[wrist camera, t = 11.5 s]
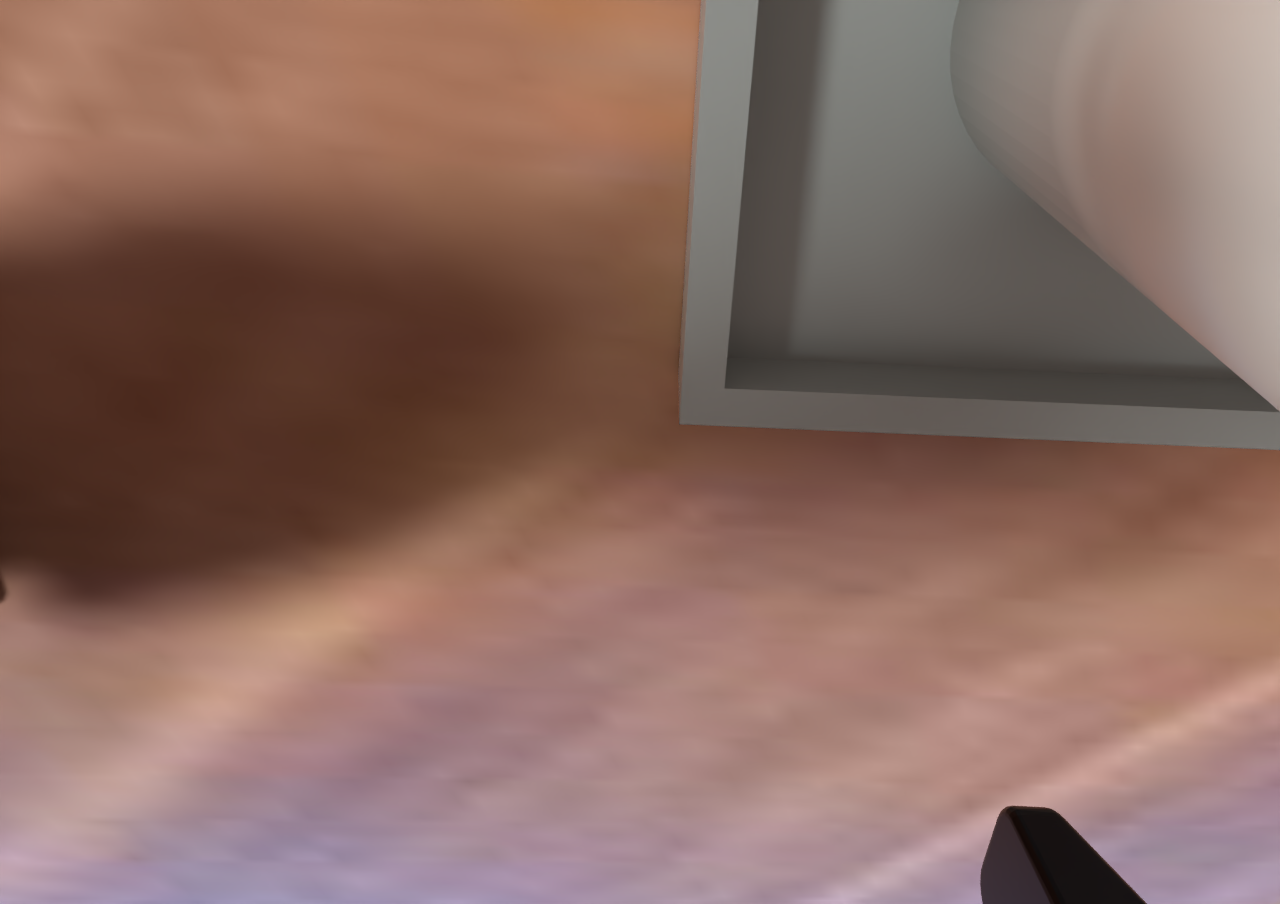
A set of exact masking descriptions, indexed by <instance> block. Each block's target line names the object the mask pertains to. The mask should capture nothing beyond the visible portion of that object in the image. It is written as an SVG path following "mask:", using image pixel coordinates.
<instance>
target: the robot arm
mask: <svg viewBox="0 0 1280 904" xmlns="http://www.w3.org/2000/svg"><path fill="white" fill-rule="evenodd" d="M980 885H981V896H982V902H983V904H1147V903H1146V902H1145V901H1144V900H1143V899H1142V898H1141V897H1140V896H1139V895H1138V894H1137V893H1136V892H1135V891H1134V890H1133V889H1132V888H1131V887H1130V886H1129V885H1128V884H1127V883H1126V882H1125V881H1124V880H1123V879H1122V878H1121V877H1120V876H1119V875H1118V873H1117V872H1116V871H1115V870H1114V869H1113V868H1112V867H1111V866H1110V865H1109V864H1108V863H1107V862H1106V861H1105V860H1104V859H1103V858H1102V857H1101V856H1100V855H1099V854H1098V853H1097V852H1096V851H1095V850H1094V849H1093V848H1092V847H1091V846H1090V845H1089V844H1088V843H1087V841H1086V840H1085V839H1084V838H1083V837H1082V836H1081V835H1080V834H1079V833H1078V832H1077V831H1076V830H1075V829H1074V828H1073V827H1072V826H1071V825H1070V824H1069V823H1068V822H1067V821H1066V820H1065V819H1064V818H1063V817H1062V816H1061V815H1060V814H1059V813H1057V812H1056V811H1054V810H1052V809H1050V808H1045V807H1027V806H1008V807H1006V808H1004V809H1003V810H1002V811H1001V812H1000V814H999V816H998V819H997V822H996V825H995V828H994V831H993V834H992V837H991V840H990V843H989V846H988V849H987V852H986V855H985V859H984V862H983V865H982V869H981V882H980Z"/></svg>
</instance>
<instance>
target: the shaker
mask: <svg viewBox="0 0 1280 904" xmlns="http://www.w3.org/2000/svg"><path fill="white" fill-rule="evenodd" d="M950 73H951V80H952V87H953V94H954V98H955V101H956V105H957V108H958V112H959V115H960V117H961V120H962V122H963V124H964V126H965V129H966V131H967V133H968V134H969V136H970V138H971V139H972V141H973V142H974V144H975V145H976V147H977V149H978V150H979V151H980V152H981V153H982V154H983V156H984V157H985V158H986V159H987V160H988V161H989V162H990V163H991V164H992V165H993V166H994V167H995V168H996V169H998V170H999V171H1000V172H1001V173H1002V174H1003V175H1005V176H1006V177H1007V178H1008V179H1009V180H1010V181H1012V182H1013V183H1014V184H1015V185H1016V186H1017V187H1019V188H1020V189H1021V190H1022V191H1023V192H1024V193H1026V194H1027V195H1028V196H1029V197H1030V198H1031V199H1033V200H1034V201H1035V202H1036V203H1037V204H1038V205H1039V206H1041V207H1042V208H1043V209H1044V210H1045V211H1046V212H1048V213H1049V214H1050V215H1051V216H1052V217H1053V218H1055V219H1056V220H1057V221H1058V222H1059V223H1060V224H1062V225H1063V226H1064V227H1065V228H1066V229H1067V230H1069V231H1070V232H1071V233H1072V234H1073V235H1074V236H1076V237H1077V238H1078V239H1079V240H1080V241H1081V242H1083V243H1084V244H1085V245H1086V246H1087V247H1088V248H1090V249H1091V250H1092V251H1093V252H1094V253H1095V254H1097V255H1098V256H1099V257H1100V258H1101V259H1102V260H1104V261H1105V262H1106V263H1107V264H1108V265H1109V266H1111V267H1112V268H1113V269H1114V270H1115V271H1116V272H1118V273H1119V274H1120V275H1121V276H1122V277H1123V278H1125V279H1126V280H1127V281H1128V282H1129V283H1130V284H1132V285H1133V286H1134V287H1135V288H1136V289H1137V290H1139V291H1140V292H1141V293H1142V294H1143V295H1144V296H1146V297H1147V298H1148V299H1149V300H1150V301H1151V302H1153V303H1154V304H1155V305H1156V306H1157V307H1158V308H1160V309H1161V310H1162V311H1163V312H1164V313H1165V314H1167V315H1168V316H1169V317H1170V318H1171V319H1172V320H1174V321H1175V322H1176V323H1177V324H1178V325H1179V326H1181V327H1182V328H1183V329H1184V330H1185V331H1186V332H1188V333H1189V334H1190V335H1191V336H1192V337H1193V338H1195V339H1196V340H1197V341H1198V342H1199V343H1200V344H1202V345H1203V346H1204V347H1205V348H1206V349H1207V350H1209V351H1210V352H1211V353H1212V354H1213V355H1214V356H1216V357H1217V358H1218V359H1219V360H1220V361H1221V362H1223V363H1224V364H1225V365H1226V366H1227V367H1228V368H1230V369H1231V370H1232V371H1233V372H1234V373H1235V374H1237V375H1238V376H1239V377H1240V378H1241V379H1242V380H1244V381H1245V382H1246V383H1247V384H1248V385H1249V386H1251V387H1252V388H1253V389H1254V390H1255V391H1256V392H1258V393H1259V394H1260V395H1261V396H1262V397H1263V398H1265V399H1266V400H1267V401H1268V402H1269V403H1270V404H1272V405H1273V406H1274V407H1275V408H1276V409H1277V410H1279V411H1280V0H959V3H958V7H957V12H956V16H955V20H954V24H953V31H952V39H951V48H950Z"/></svg>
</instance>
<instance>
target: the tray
mask: <svg viewBox="0 0 1280 904" xmlns="http://www.w3.org/2000/svg"><path fill="white" fill-rule="evenodd" d="M958 3H959V0H701V9H700V26H699V42H698V59H697V75H696V91H695V108H694V124H693V141H692V157H691V174H690V190H689V206H688V223H687V239H686V256H685V272H684V289H683V305H682V321H681V338H680V354H679V371H678V385H679V424H686V425H709V426H732V427H756V428H779V429H802V430H826V431H849V432H872V433H896V434H919V435H942V436H966V437H989V438H1012V439H1036V440H1059V441H1082V442H1106V443H1129V444H1152V445H1175V446H1199V447H1222V448H1245V449H1269V450H1280V411H1279V410H1277V409H1276V408H1275V407H1274V406H1273V405H1272V404H1270V403H1269V402H1268V401H1267V400H1266V399H1265V398H1263V397H1262V396H1261V395H1260V394H1259V393H1258V392H1256V391H1255V390H1254V389H1253V388H1252V387H1251V386H1249V385H1248V384H1247V383H1246V382H1245V381H1244V380H1242V379H1241V378H1240V377H1239V376H1238V375H1237V374H1235V373H1234V372H1233V371H1232V370H1231V369H1230V368H1228V367H1227V366H1226V365H1225V364H1224V363H1223V362H1221V361H1220V360H1219V359H1218V358H1217V357H1216V356H1214V355H1213V354H1212V353H1211V352H1210V351H1209V350H1207V349H1206V348H1205V347H1204V346H1203V345H1202V344H1200V343H1199V342H1198V341H1197V340H1196V339H1195V338H1193V337H1192V336H1191V335H1190V334H1189V333H1188V332H1186V331H1185V330H1184V329H1183V328H1182V327H1181V326H1179V325H1178V324H1177V323H1176V322H1175V321H1174V320H1172V319H1171V318H1170V317H1169V316H1168V315H1167V314H1165V313H1164V312H1163V311H1162V310H1161V309H1160V308H1158V307H1157V306H1156V305H1155V304H1154V303H1153V302H1151V301H1150V300H1149V299H1148V298H1147V297H1146V296H1144V295H1143V294H1142V293H1141V292H1140V291H1139V290H1137V289H1136V288H1135V287H1134V286H1133V285H1132V284H1130V283H1129V282H1128V281H1127V280H1126V279H1125V278H1123V277H1122V276H1121V275H1120V274H1119V273H1118V272H1116V271H1115V270H1114V269H1113V268H1112V267H1111V266H1109V265H1108V264H1107V263H1106V262H1105V261H1104V260H1102V259H1101V258H1100V257H1099V256H1098V255H1097V254H1095V253H1094V252H1093V251H1092V250H1091V249H1090V248H1088V247H1087V246H1086V245H1085V244H1084V243H1083V242H1081V241H1080V240H1079V239H1078V238H1077V237H1076V236H1074V235H1073V234H1072V233H1071V232H1070V231H1069V230H1067V229H1066V228H1065V227H1064V226H1063V225H1062V224H1060V223H1059V222H1058V221H1057V220H1056V219H1055V218H1053V217H1052V216H1051V215H1050V214H1049V213H1048V212H1046V211H1045V210H1044V209H1043V208H1042V207H1041V206H1039V205H1038V204H1037V203H1036V202H1035V201H1034V200H1033V199H1031V198H1030V197H1029V196H1028V195H1027V194H1026V193H1024V192H1023V191H1022V190H1021V189H1020V188H1019V187H1017V186H1016V185H1015V184H1014V183H1013V182H1012V181H1010V180H1009V179H1008V178H1007V177H1006V176H1005V175H1003V174H1002V173H1001V172H1000V171H999V170H998V169H996V168H995V167H994V166H993V165H992V164H991V163H990V162H989V161H988V160H987V159H986V158H985V157H984V156H983V154H982V153H981V152H980V151H979V150H978V149H977V147H976V145H975V144H974V142H973V141H972V139H971V138H970V136H969V134H968V133H967V131H966V129H965V126H964V124H963V122H962V120H961V117H960V115H959V112H958V108H957V105H956V101H955V98H954V94H953V87H952V80H951V73H950V48H951V39H952V31H953V24H954V20H955V16H956V12H957V7H958Z"/></svg>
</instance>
